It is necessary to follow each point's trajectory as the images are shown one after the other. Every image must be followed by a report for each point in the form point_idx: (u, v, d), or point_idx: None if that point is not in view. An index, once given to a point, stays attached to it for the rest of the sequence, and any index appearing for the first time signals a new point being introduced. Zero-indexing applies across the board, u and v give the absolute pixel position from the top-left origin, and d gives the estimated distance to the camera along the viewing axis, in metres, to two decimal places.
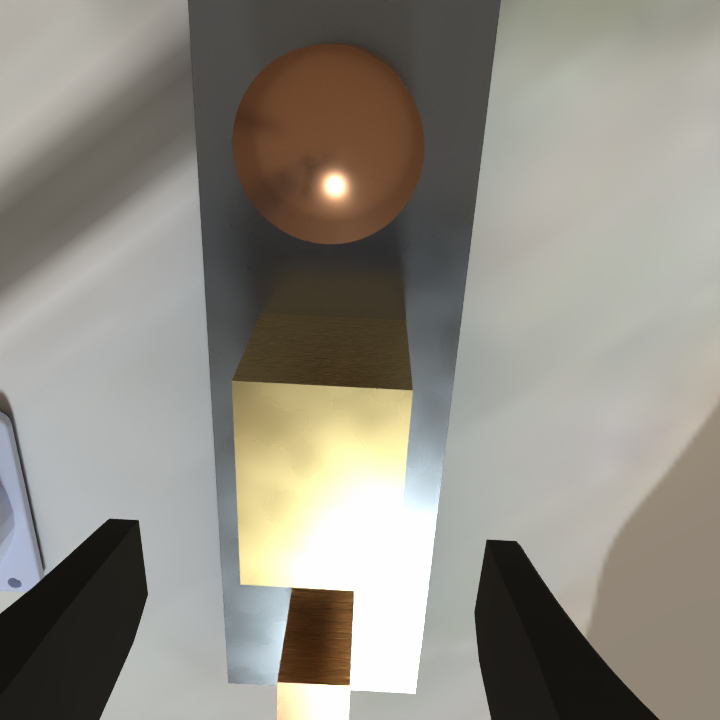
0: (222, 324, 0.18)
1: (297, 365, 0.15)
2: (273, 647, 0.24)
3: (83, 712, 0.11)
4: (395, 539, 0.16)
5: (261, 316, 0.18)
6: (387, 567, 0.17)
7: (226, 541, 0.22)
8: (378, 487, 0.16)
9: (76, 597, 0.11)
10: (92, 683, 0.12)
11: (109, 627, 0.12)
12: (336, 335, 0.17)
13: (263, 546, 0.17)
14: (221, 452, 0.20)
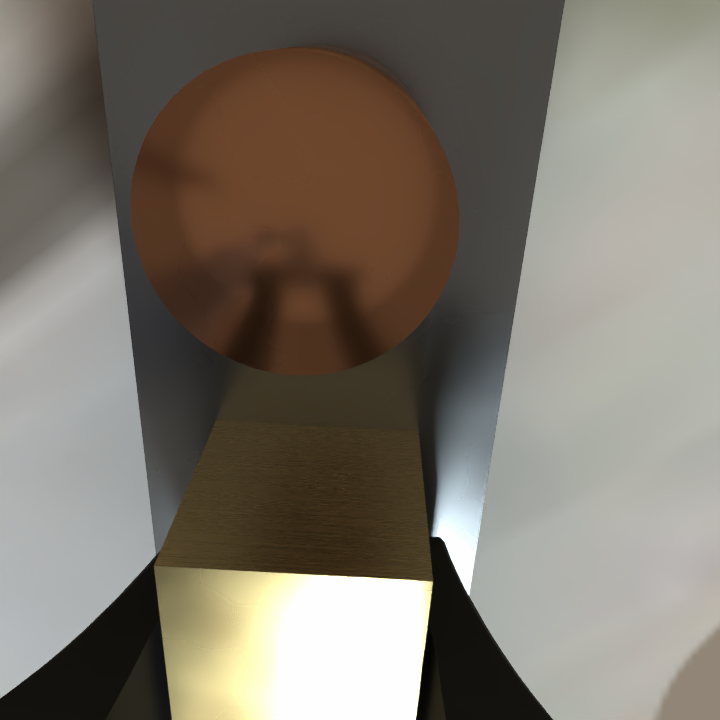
0: (163, 434, 0.13)
1: (259, 528, 0.10)
2: None
3: (170, 717, 0.11)
4: None
5: (216, 427, 0.13)
6: None
7: None
8: (379, 703, 0.11)
9: None
10: None
11: None
12: (320, 462, 0.12)
13: None
14: None
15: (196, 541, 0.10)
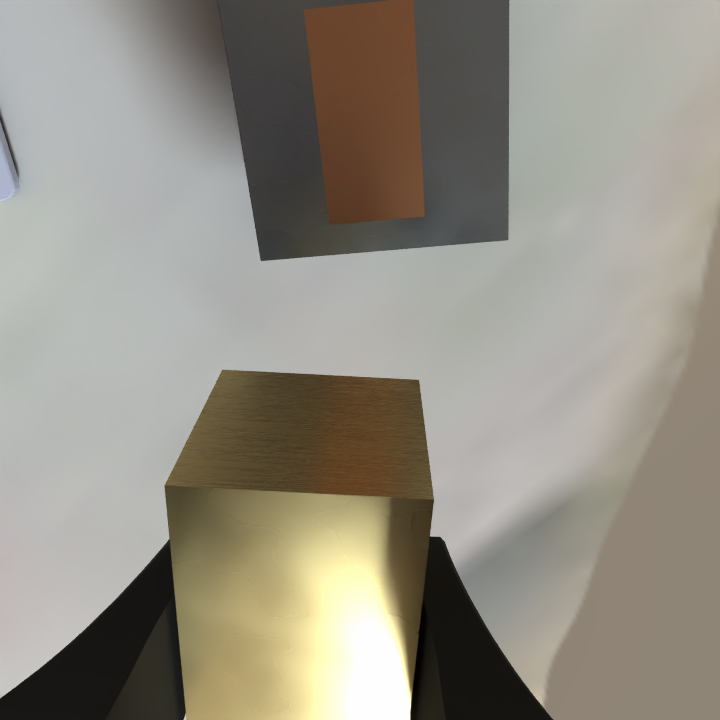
0: None
1: (264, 456, 0.11)
2: (311, 183, 0.18)
3: (170, 717, 0.11)
4: (406, 697, 0.12)
5: (222, 375, 0.13)
6: None
7: None
8: (382, 629, 0.11)
9: (168, 602, 0.11)
10: (177, 688, 0.12)
11: None
12: (324, 403, 0.12)
13: (219, 705, 0.12)
14: None
15: (205, 466, 0.10)
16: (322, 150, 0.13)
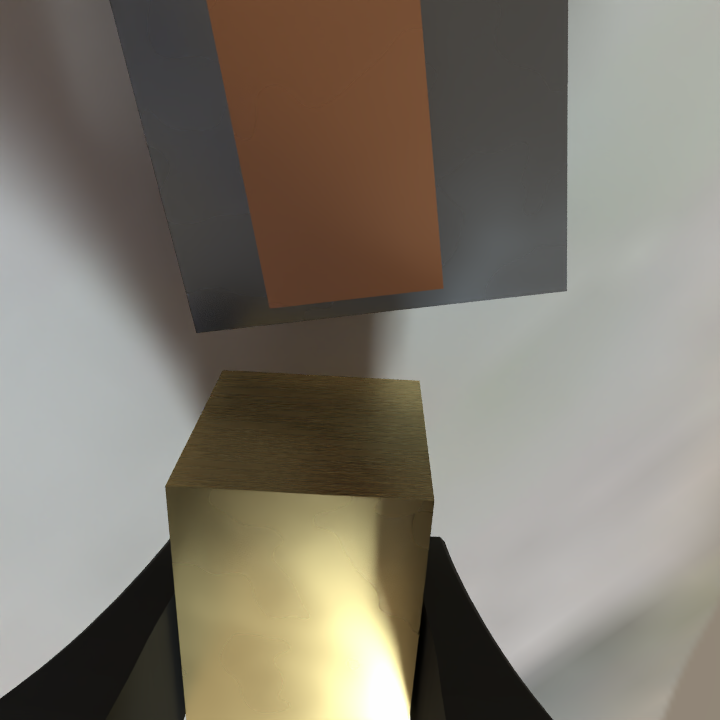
0: None
1: (266, 456, 0.11)
2: None
3: (170, 717, 0.11)
4: (406, 698, 0.12)
5: (223, 375, 0.13)
6: None
7: None
8: (382, 630, 0.11)
9: (168, 602, 0.11)
10: (178, 688, 0.12)
11: None
12: (324, 404, 0.12)
13: (219, 705, 0.12)
14: None
15: (205, 466, 0.10)
16: (246, 176, 0.07)
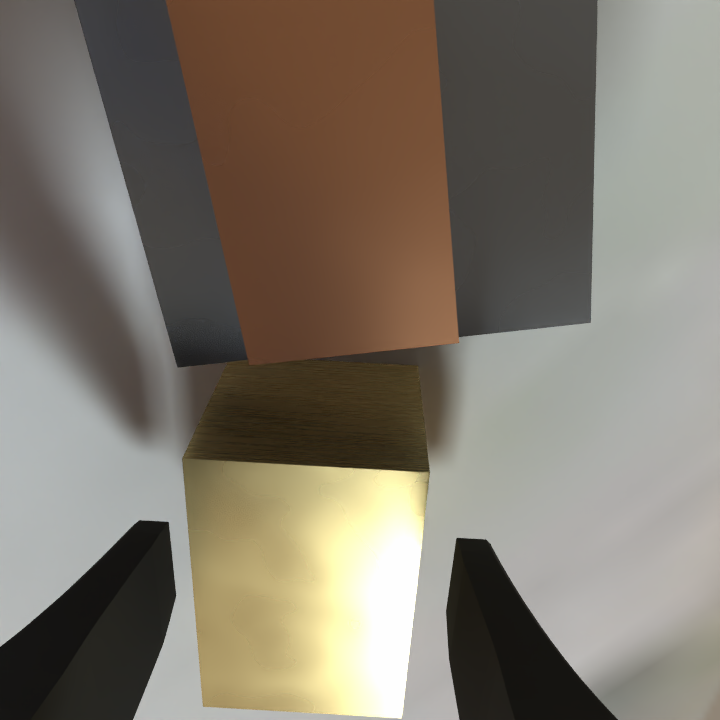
0: None
1: (274, 433, 0.12)
2: None
3: (118, 714, 0.11)
4: (403, 655, 0.13)
5: None
6: (392, 688, 0.13)
7: None
8: (381, 593, 0.12)
9: (113, 599, 0.11)
10: (126, 685, 0.12)
11: (142, 629, 0.12)
12: (327, 384, 0.13)
13: (231, 662, 0.13)
14: None
15: (218, 441, 0.11)
16: (218, 209, 0.06)
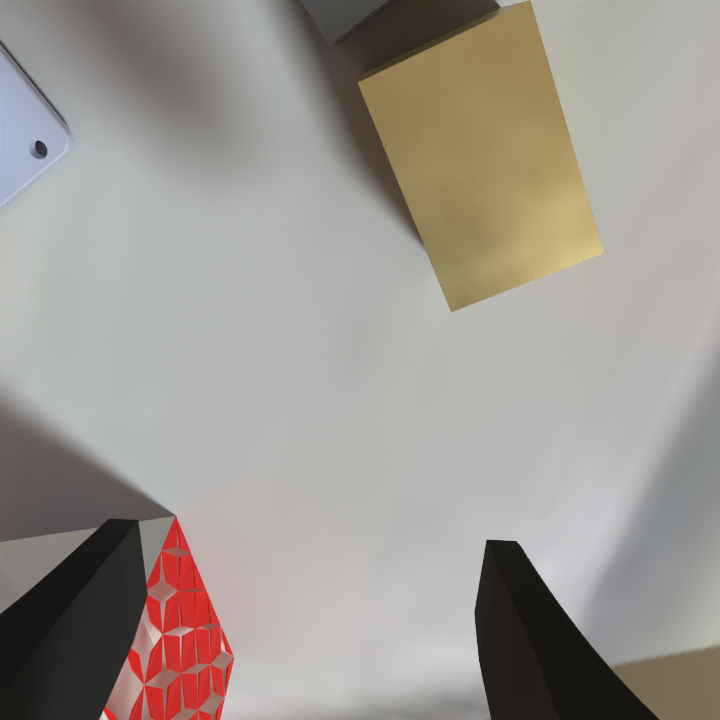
0: None
1: (411, 54, 0.15)
2: None
3: (83, 712, 0.11)
4: (580, 187, 0.16)
5: (363, 73, 0.18)
6: (584, 225, 0.16)
7: None
8: (539, 133, 0.15)
9: (76, 597, 0.11)
10: (92, 683, 0.12)
11: (109, 627, 0.12)
12: (438, 38, 0.17)
13: (456, 257, 0.17)
14: None
15: (377, 72, 0.15)
16: None
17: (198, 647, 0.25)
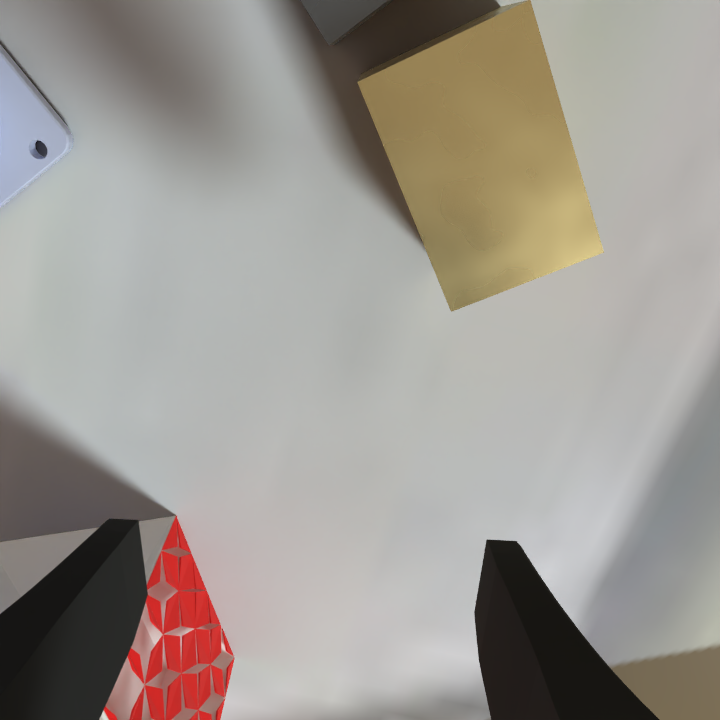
0: None
1: (412, 54, 0.15)
2: None
3: (83, 712, 0.11)
4: (580, 187, 0.16)
5: None
6: (584, 224, 0.16)
7: None
8: (539, 132, 0.15)
9: (76, 597, 0.11)
10: (92, 683, 0.12)
11: (109, 627, 0.12)
12: (438, 38, 0.17)
13: (456, 257, 0.17)
14: None
15: (376, 71, 0.15)
16: None
17: (198, 648, 0.25)
